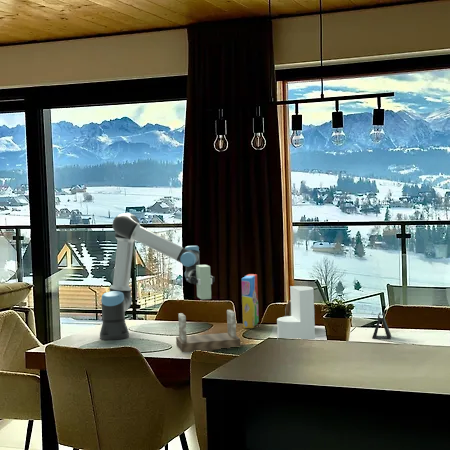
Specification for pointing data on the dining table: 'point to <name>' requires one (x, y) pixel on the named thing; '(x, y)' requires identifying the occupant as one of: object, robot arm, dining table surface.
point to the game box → (250, 301)
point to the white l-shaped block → (299, 315)
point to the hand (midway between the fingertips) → (205, 281)
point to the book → (203, 281)
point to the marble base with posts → (207, 336)
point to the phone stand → (388, 334)
